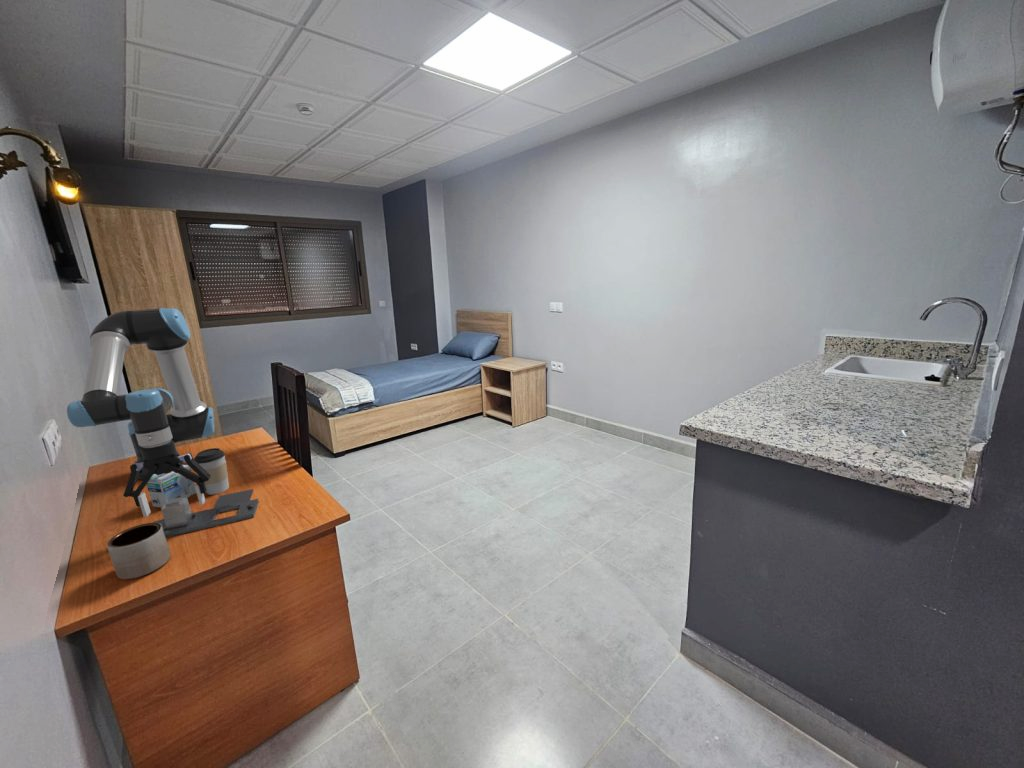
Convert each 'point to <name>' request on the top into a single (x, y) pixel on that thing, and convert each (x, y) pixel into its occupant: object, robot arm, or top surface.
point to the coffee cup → (214, 469)
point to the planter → (139, 550)
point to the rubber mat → (234, 498)
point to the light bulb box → (169, 487)
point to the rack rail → (208, 517)
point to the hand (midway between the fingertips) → (175, 508)
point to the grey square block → (177, 513)
